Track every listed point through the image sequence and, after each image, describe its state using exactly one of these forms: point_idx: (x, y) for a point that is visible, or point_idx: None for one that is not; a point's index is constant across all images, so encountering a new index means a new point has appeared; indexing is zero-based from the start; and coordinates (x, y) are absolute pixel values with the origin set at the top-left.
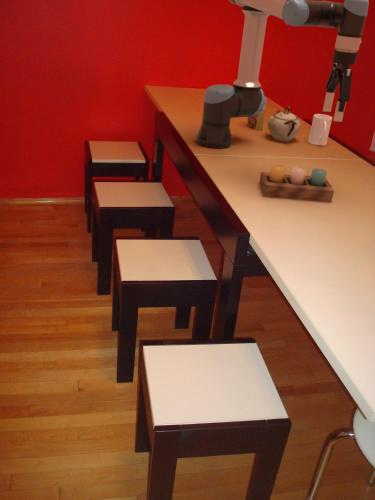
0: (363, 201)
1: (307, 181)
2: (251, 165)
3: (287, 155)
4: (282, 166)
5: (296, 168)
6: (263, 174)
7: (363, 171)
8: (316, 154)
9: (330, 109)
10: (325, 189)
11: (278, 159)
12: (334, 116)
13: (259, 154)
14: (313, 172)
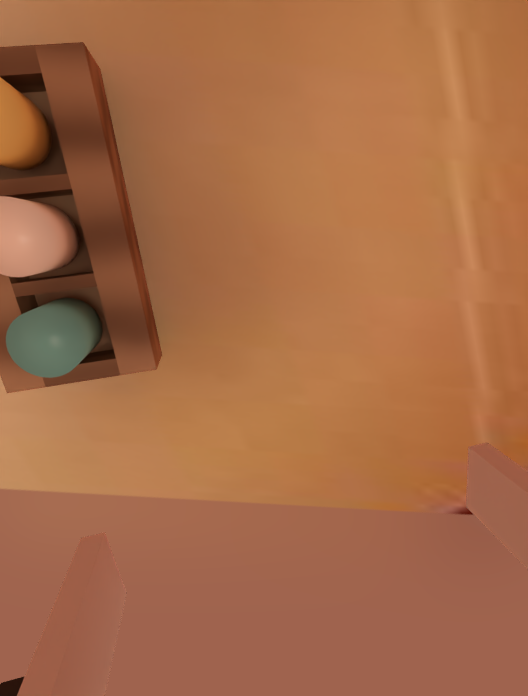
0: (96, 475)
1: (65, 289)
2: (326, 42)
3: (493, 235)
4: (3, 137)
5: (15, 224)
6: (51, 56)
7: (383, 491)
8: (522, 352)
9: (482, 518)
10: (3, 359)
11: (437, 191)
12: (79, 573)
13: (485, 98)
14: (22, 314)
